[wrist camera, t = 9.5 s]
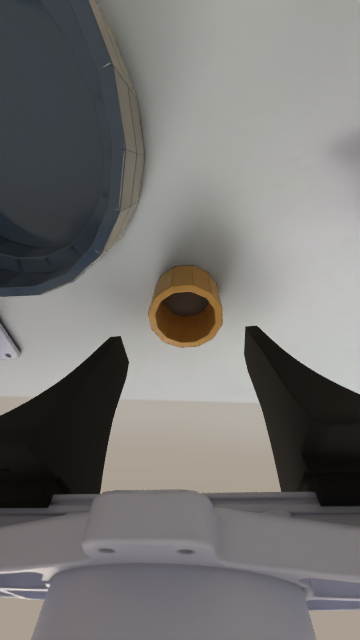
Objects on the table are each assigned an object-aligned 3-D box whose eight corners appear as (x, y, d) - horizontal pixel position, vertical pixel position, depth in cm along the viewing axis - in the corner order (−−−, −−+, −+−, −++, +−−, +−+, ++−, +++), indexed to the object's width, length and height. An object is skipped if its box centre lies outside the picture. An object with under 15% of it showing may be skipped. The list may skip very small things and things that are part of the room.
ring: (161, 323, 20) (155, 349, 17) (150, 269, 17) (142, 289, 14) (217, 318, 19) (223, 345, 16) (216, 262, 17) (221, 281, 14)
